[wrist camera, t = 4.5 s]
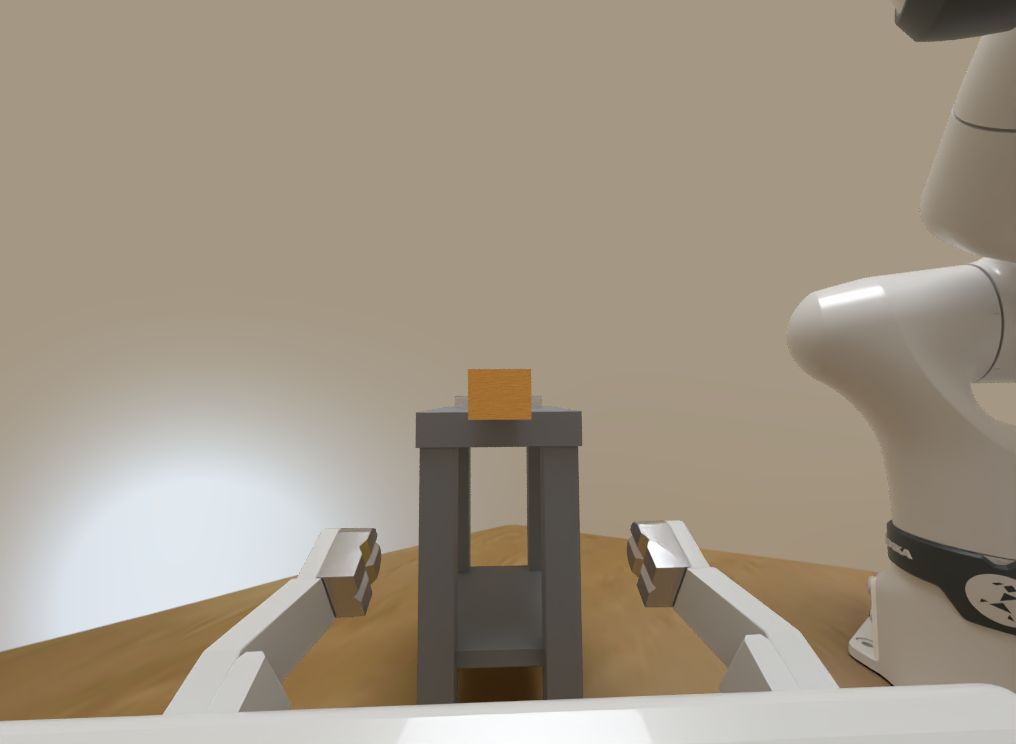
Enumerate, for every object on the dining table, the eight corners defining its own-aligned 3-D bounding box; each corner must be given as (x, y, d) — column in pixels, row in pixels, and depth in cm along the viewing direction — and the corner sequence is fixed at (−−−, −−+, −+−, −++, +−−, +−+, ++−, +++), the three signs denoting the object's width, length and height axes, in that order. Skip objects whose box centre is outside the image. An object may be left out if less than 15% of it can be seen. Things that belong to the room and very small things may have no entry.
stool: (445, 640, 40) (447, 406, 42) (552, 637, 40) (549, 405, 42) (411, 803, 24) (416, 412, 26) (589, 796, 24) (581, 411, 26)
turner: (463, 406, 41) (463, 385, 41) (532, 406, 41) (532, 385, 41) (414, 420, 17) (415, 369, 17) (583, 418, 17) (582, 368, 17)
